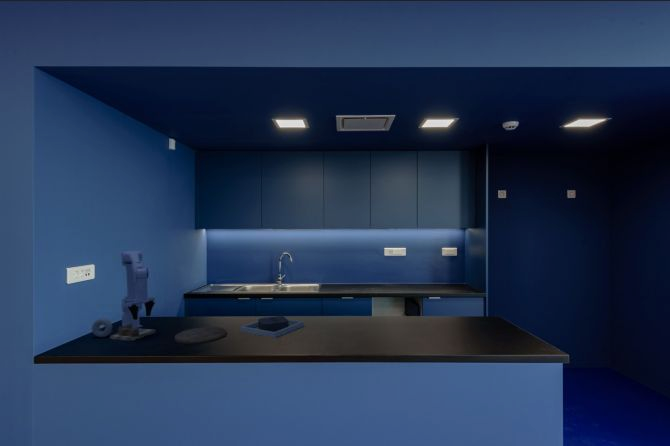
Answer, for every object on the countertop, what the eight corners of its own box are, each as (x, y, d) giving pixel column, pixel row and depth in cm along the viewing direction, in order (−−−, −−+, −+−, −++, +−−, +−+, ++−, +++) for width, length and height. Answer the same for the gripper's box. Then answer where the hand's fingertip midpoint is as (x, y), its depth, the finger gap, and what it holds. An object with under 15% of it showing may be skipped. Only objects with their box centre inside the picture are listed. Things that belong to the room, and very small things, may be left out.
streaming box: (289, 330, 201) (289, 321, 201) (263, 334, 195) (262, 324, 195) (282, 324, 214) (282, 315, 214) (257, 327, 209) (257, 318, 209)
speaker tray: (240, 331, 201) (240, 326, 201) (271, 321, 221) (270, 317, 221) (274, 337, 188) (274, 332, 188) (303, 326, 209) (303, 321, 209)
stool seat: (109, 338, 194) (109, 330, 194) (133, 330, 208) (133, 322, 208) (132, 340, 189) (132, 332, 189) (155, 332, 203) (155, 324, 203)
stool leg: (116, 334, 195) (116, 327, 195) (121, 333, 198) (121, 325, 198) (134, 336, 191) (134, 328, 191) (139, 334, 194) (138, 327, 194)
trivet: (235, 336, 194) (235, 332, 195) (189, 348, 176) (188, 344, 176) (211, 327, 212) (211, 324, 212) (166, 338, 193) (166, 334, 193)
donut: (114, 335, 199) (113, 316, 199) (110, 337, 195) (110, 318, 196) (94, 336, 198) (94, 317, 198) (90, 338, 195) (90, 319, 195)
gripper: (134, 294, 186) (134, 321, 186) (158, 289, 200) (159, 315, 199) (124, 293, 189) (124, 320, 189) (149, 288, 202) (149, 314, 202)
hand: (141, 317), depth 195 cm, fingers open, 7 cm apart
